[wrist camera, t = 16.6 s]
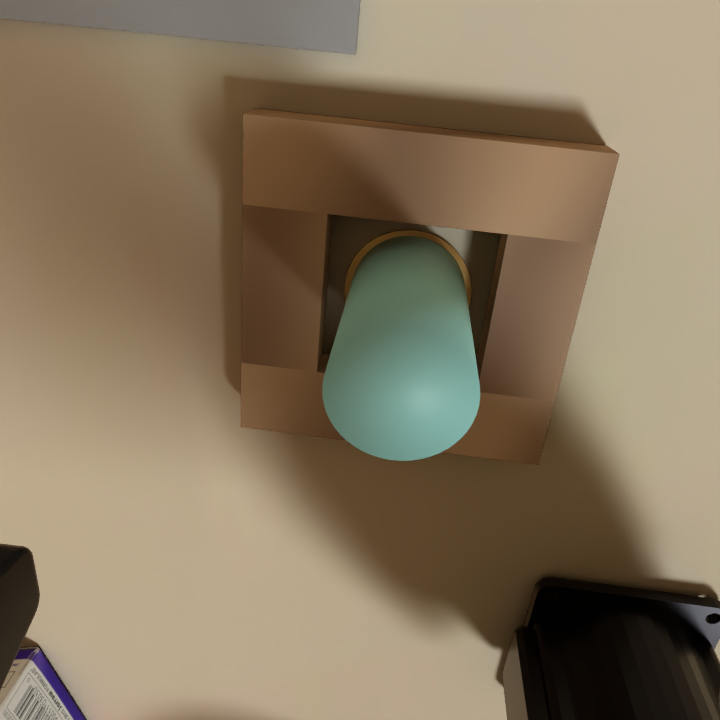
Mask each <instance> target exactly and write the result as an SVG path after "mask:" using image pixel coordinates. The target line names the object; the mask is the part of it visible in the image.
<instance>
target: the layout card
mask: <svg viewBox="0 0 720 720" xmlns="http://www.w3.org/2000/svg"><path fill="white" fill-rule="evenodd" d="M359 11H360V0H0V18H2V19H12V20H22V21H32V22H41V23H51V24H61V25H71V26H80V27H90V28H100V29H110V30H119V31H129V32H139V33H149V34H158V35H168V36H178V37H188V38H197V39H207V40H217V41H227V42H236V43H246V44H256V45H266V46H275V47H285V48H295V49H305V50H314V51H324V52H334V53H344V54H353V55H355V54H356V50H357V37H358V24H359Z"/></svg>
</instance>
